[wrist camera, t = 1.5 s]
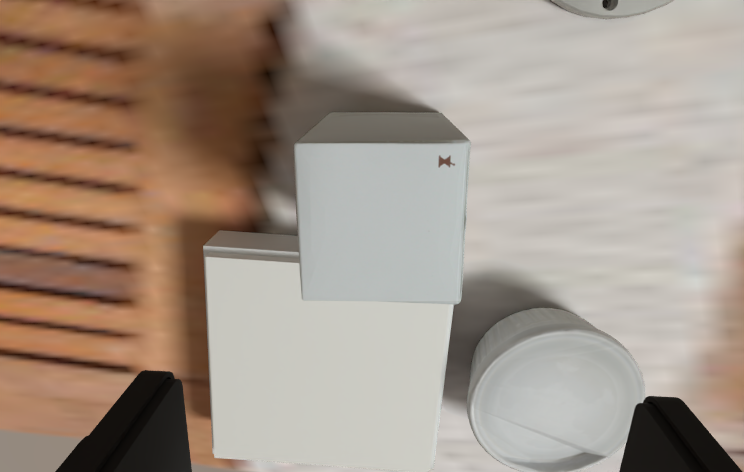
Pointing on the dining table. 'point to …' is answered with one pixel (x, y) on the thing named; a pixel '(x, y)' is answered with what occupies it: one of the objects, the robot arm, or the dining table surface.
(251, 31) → the dining table surface
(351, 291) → the supplement box
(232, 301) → the stand
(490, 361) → the ramekin
